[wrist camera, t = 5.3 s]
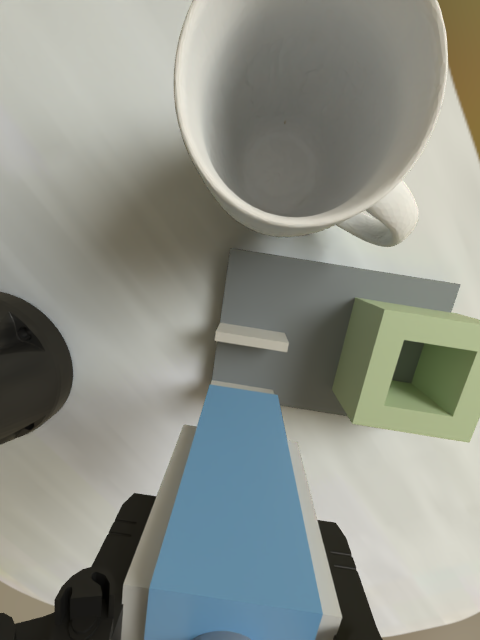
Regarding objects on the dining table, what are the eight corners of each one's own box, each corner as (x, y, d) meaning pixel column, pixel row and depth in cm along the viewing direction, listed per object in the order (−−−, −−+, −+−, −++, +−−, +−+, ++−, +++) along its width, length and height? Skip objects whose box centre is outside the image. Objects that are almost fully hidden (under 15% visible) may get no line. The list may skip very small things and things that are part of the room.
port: (331, 389, 26) (352, 423, 21) (355, 297, 24) (384, 309, 19) (425, 404, 26) (469, 442, 21) (456, 313, 24) (514, 329, 19)
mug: (404, 187, 23) (586, 108, 11) (321, 292, 26) (390, 328, 13) (264, 71, 22) (281, -181, 9) (189, 193, 24) (121, 125, 12)
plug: (201, 443, 17) (96, 864, 5) (209, 384, 16) (104, 739, 4) (265, 453, 17) (303, 894, 5) (277, 394, 16) (356, 776, 4)
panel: (212, 386, 28) (204, 410, 24) (231, 248, 25) (227, 247, 21) (403, 417, 28) (431, 447, 24) (448, 282, 25) (489, 288, 21)
